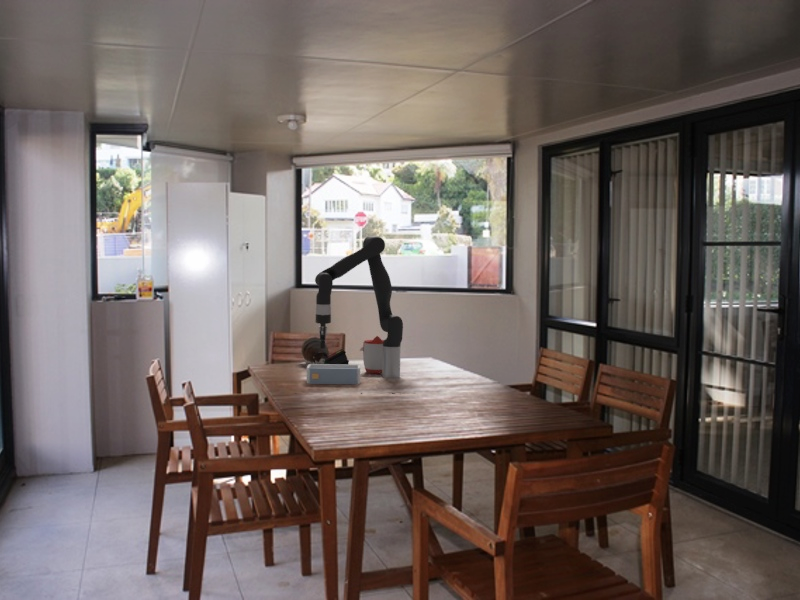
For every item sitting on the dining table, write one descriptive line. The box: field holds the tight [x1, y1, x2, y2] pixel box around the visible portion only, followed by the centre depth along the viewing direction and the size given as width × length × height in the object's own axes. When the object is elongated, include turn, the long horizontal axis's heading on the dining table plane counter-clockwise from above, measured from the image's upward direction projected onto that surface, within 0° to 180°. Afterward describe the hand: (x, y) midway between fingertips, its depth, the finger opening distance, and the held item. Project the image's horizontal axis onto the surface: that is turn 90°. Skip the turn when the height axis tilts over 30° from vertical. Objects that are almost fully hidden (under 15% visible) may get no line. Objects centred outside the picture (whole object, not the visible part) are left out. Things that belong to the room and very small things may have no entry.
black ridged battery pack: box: [324, 348, 350, 365], centre depth 381 cm, size 4×13×15 cm, turn 112°
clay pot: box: [301, 336, 330, 365], centre depth 419 cm, size 15×15×25 cm
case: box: [306, 364, 361, 385], centre depth 364 cm, size 12×26×9 cm, turn 93°
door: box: [309, 368, 358, 385], centre depth 358 cm, size 2×23×8 cm, turn 93°
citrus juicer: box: [359, 335, 385, 374], centre depth 401 cm, size 16×17×20 cm
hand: (322, 348), depth 364 cm, fingers closed
